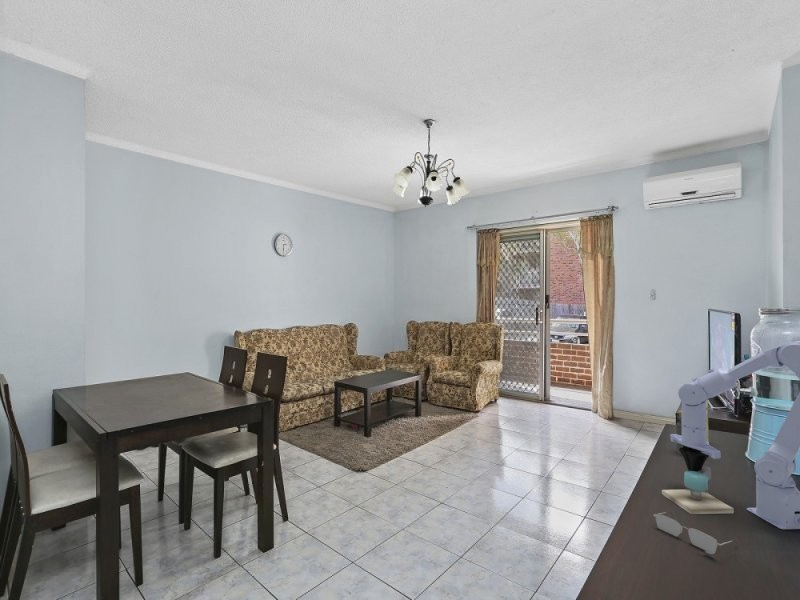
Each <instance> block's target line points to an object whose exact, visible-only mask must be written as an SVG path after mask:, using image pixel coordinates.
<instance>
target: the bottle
mask: <svg viewBox="0 0 800 600" xmlns="http://www.w3.org/2000/svg"><path fill="white" fill-rule="evenodd" d="M677 412H678V415H677V419H678V420H679V421H678V422H676V424H675V425H676V426H675V427H676V428H675V429H676V430H675V431H676V433H675V434H678V435H681V436H682V414H681V409H679V410H677ZM683 447H684V445H682V444H680V443H677V442H676V454H678V456H682V454H681V452H680V451H679V448H683ZM682 457H683V456H682Z"/></svg>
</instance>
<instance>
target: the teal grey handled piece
mask: <svg viewBox="0 0 800 600" xmlns="http://www.w3.org/2000/svg"><path fill="white" fill-rule="evenodd" d="M683 473H684V475H683V476H684V477H683V480H684V481H683V482H684V486H685V488H687V489H692V490H696V491H705V492H707V491H708V490H709V489H708V487H709V485H708V484H709V483H708V482H709V481H710V480H712V468H711V467H710V466H704V467H702V469H701V470H699V471H698V472H695V471H688V470H686V471H684V472H683Z"/></svg>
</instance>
